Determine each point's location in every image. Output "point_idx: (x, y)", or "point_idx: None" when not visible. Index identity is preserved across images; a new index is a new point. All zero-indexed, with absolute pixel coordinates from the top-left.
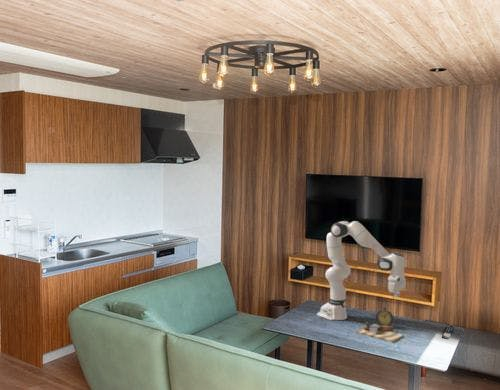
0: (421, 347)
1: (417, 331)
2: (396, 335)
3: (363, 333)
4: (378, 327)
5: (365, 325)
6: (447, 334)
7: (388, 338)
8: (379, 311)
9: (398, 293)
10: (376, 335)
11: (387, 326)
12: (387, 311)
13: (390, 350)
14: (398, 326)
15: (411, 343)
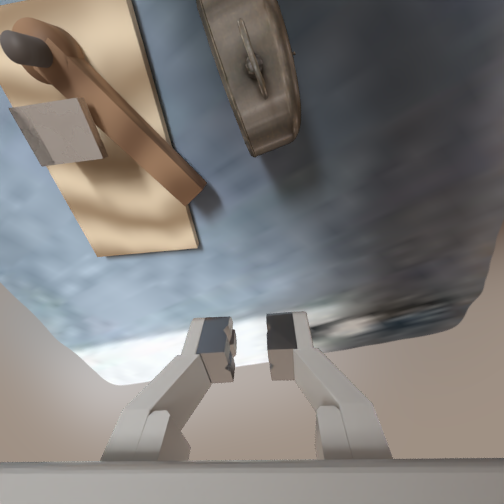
0: (164, 324)
1: (310, 253)
2: (160, 235)
3: (2, 83)
4: (74, 161)
5: (27, 33)
6: (353, 329)
7: (96, 230)
8: (202, 20)
9: (296, 374)
10: (61, 169)
11: (169, 171)
12: (237, 121)
13: (39, 280)
14: (318, 151)
15: (164, 294)
